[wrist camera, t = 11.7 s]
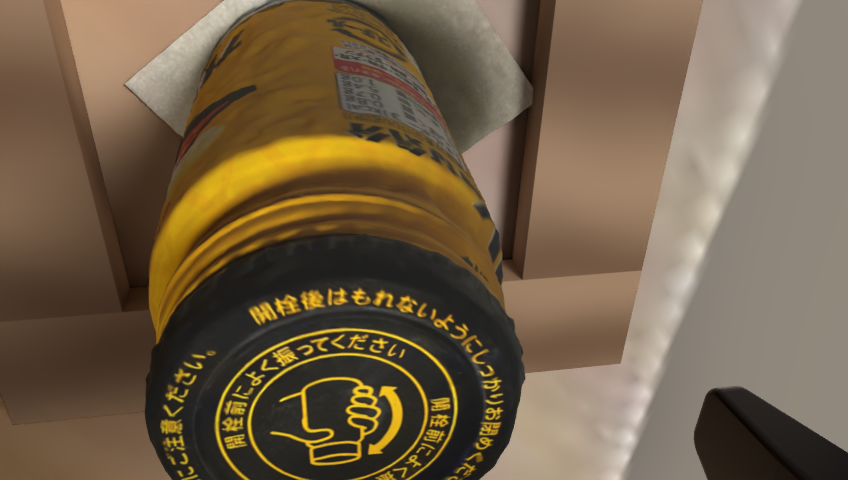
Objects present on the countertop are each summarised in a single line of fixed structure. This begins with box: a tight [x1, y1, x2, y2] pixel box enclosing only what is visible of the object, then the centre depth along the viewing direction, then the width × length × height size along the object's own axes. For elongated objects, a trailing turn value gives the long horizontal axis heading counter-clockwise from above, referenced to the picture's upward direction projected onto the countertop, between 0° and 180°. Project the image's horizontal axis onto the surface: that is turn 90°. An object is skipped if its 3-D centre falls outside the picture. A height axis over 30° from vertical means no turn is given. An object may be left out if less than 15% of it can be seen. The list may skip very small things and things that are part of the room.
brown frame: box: [0, 0, 703, 425], centre depth 20 cm, size 16×20×1 cm
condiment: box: [125, 0, 533, 480], centre depth 14 cm, size 7×8×12 cm
